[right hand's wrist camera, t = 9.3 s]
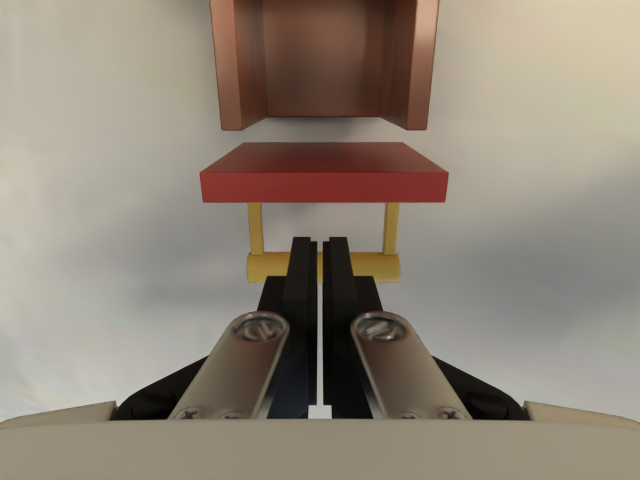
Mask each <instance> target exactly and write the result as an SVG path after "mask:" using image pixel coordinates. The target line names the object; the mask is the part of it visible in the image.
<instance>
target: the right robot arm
mask: <svg viewBox="0 0 640 480" xmlns="http://www.w3.org/2000/svg"><path fill="white" fill-rule="evenodd" d="M309 405H317V241H311V237H293V242H292V248H291V253H290V259H289V264H288V270H287V275H286V276H267V277H266V281H265V284H264V288H263V291H262V295H261V298H260V302H259V305H258V308H257V311H255V312H249V313H246V314H243V315H241V316H239V317H237V318H236V319H234V320H233V321H232V322H231V323H230V324H229V326H228V327H227V329H226V330H225V332H224V333H223V335H222V336H221V338H220V339H219V341H218V342H217V344H216V345H215V347H214V349H213V350H212V352H211V353H210V355H208V356H206V357H204V358H202V359H200V360H198V361H196V362H194V363H192V364H190V365H188V366H186V367H184V368H182V369H181V370H179V371H177V372H175V373H173V374H171V375H169V376H167V377H165V378H163V379H161V380H159V381H157V382H155V383H153V384H151V385H149V386H147V387H145V388H143V389H141V390H139V391H137V392H136V393H134V394H133V395H131V396H129V397H128V398H127V399H126V400H125V401H124V402H123V403H122V404H121V405H120V406H119V407H117V404H116V400H115V401H109V402H103V403H97V404H91V405H85V406H79V407H73V408H67V409H61V410H55V411H49V412H43V413H37V414H31V415H25V416H19V417H16V418H12V419H8V420H5V421H3V422H1V423H0V480H640V423H639V422H637V421H635V420H632V419H628V418H624V417H621V416H615V415H609V414H603V413H597V412H591V411H585V410H579V409H573V408H567V407H561V406H555V405H549V404H543V403H537V402H531V401H525V400H524V404H523V407H521V406H520V405H519V404H518V403H517V402H516V401H515V400H514V399H513V398H512V397H511V396H509V395H507V394H506V393H504V392H503V391H501V390H499V389H497V388H495V387H493V386H491V385H489V384H487V383H485V382H483V381H481V380H479V379H477V378H475V377H473V376H471V375H469V374H467V373H465V372H463V371H461V370H459V369H458V368H456V367H454V366H452V365H450V364H448V363H446V362H444V361H442V360H440V359H438V358H436V357H434V356H432V355H430V353H429V352H428V350H427V349H426V347H425V345H424V344H423V342H422V341H421V339H420V338H419V336H418V335H417V333H416V332H415V330H414V329H413V327H412V326H411V324H410V323H409V322H408V321H407V320H406V319H404V318H403V317H401V316H399V315H397V314H394V313H391V312H385V311H383V308H382V305H381V302H380V298H379V295H378V291H377V288H376V284H375V281H374V277H373V276H354V275H353V270H352V264H351V259H350V253H349V248H348V242H347V237H329V241H323V405H331V406H332V419H308V406H309Z"/></svg>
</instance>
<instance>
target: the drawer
mask: <svg viewBox="0 0 640 480" xmlns="http://www.w3.org/2000/svg"><path fill="white" fill-rule="evenodd" d="M210 9H211V20H212V31H213V42H214V53H215V65H216V76H217V87H218V98H219V109H220V120H221V129H222V130H243V129H245V128H247V127H249V126H251V125H253V124H255V123H257V122H259V121H261V120H263V119H265V118H267V117H380V118H383V119H385V120H387V121H389V122H391V123H393V124H395V125H397V126H399V127H401V128H403V129H406V130H426V129H427V123H428V113H429V103H430V92H431V82H432V72H433V61H434V51H435V41H436V30H437V20H438V10H439V0H210ZM448 175H449V173H448V172H447V171H445V170H444V169H442V168H441V167H439V166H438V165H436V164H435V163H433V162H432V161H430V160H429V159H427V158H425V157H424V156H422V155H421V154H419V153H418V152H416V151H415V150H413V149H412V148H410V147H409V146H407V145H406V144H404V143H402V142H244V143H242V144H241V145H239V146H238V147H236V148H235V149H233V150H232V151H231V152H229V153H228V154H226V155H225V156H223V157H222V158H220V159H219V160H217V161H216V162H214V163H213V164H212V165H210V166H209V167H207V168H206V169H204V170H203V171H201V172H200V181H201V190H202V199H203V202H204V203H248V215H249V229H250V243H251V252H249V254H248V257H247V267H246V270H247V279H248V282H249V283H265V281H266V277H267V276H286V275H287V270H288V264H289V259H290V253H291V252H264V239H263V222H262V205H261V203H385V217H384V233H383V249H382V251H383V252H349V253H350V259H351V264H352V270H353V275H354V276H373V277H374V281H375V283H398V281H399V278H400V259H399V255H398V253H397V252H396V239H397V226H398V213H399V203H444V202H445V200H446V192H447V184H448ZM317 283H323V252H317Z"/></svg>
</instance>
